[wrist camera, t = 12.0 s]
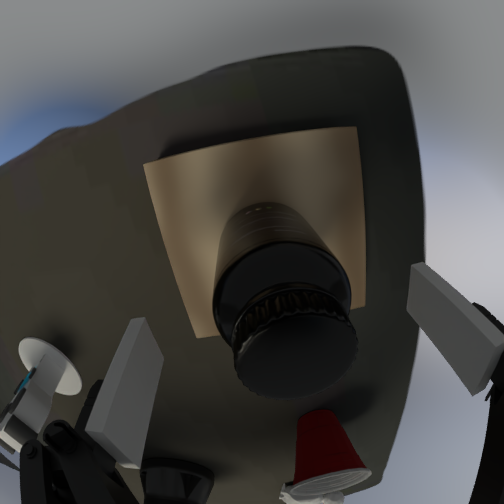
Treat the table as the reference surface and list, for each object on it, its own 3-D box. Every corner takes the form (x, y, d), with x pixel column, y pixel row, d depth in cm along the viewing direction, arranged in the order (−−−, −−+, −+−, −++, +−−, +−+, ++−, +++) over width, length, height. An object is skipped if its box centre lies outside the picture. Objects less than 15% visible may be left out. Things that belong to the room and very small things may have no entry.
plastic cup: (272, 438, 38) (280, 502, 27) (290, 399, 34) (305, 477, 23) (334, 435, 40) (350, 493, 29) (361, 397, 36) (387, 464, 25)
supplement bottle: (318, 273, 22) (379, 390, 11) (234, 294, 23) (235, 426, 12) (302, 187, 20) (382, 261, 9) (207, 212, 20) (174, 315, 9)
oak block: (201, 312, 28) (196, 338, 24) (157, 159, 22) (143, 164, 18) (350, 283, 28) (364, 305, 24) (337, 126, 22) (356, 126, 18)
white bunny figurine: (285, 481, 54) (342, 489, 49) (275, 508, 47) (336, 517, 42) (287, 470, 51) (351, 478, 46) (277, 499, 43) (344, 509, 39)
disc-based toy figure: (35, 322, 28) (-23, 404, 14) (97, 379, 32) (63, 470, 18) (12, 353, 30) (-31, 420, 17) (64, 400, 34) (34, 471, 20)
